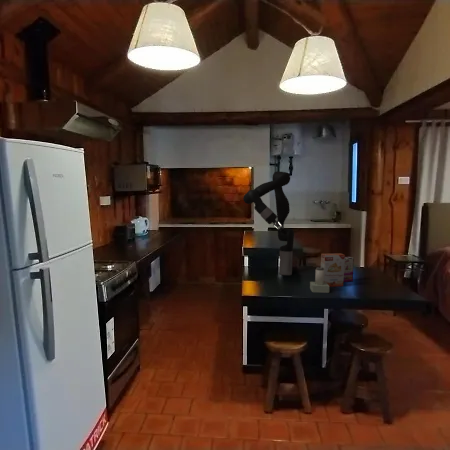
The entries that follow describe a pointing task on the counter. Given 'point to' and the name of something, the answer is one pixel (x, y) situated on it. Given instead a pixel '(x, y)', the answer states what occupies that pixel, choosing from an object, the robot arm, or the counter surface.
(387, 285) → the counter surface
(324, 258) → the cracker box
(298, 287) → the counter surface
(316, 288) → the base
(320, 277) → the jar
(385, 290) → the counter surface
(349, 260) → the candy bar box
